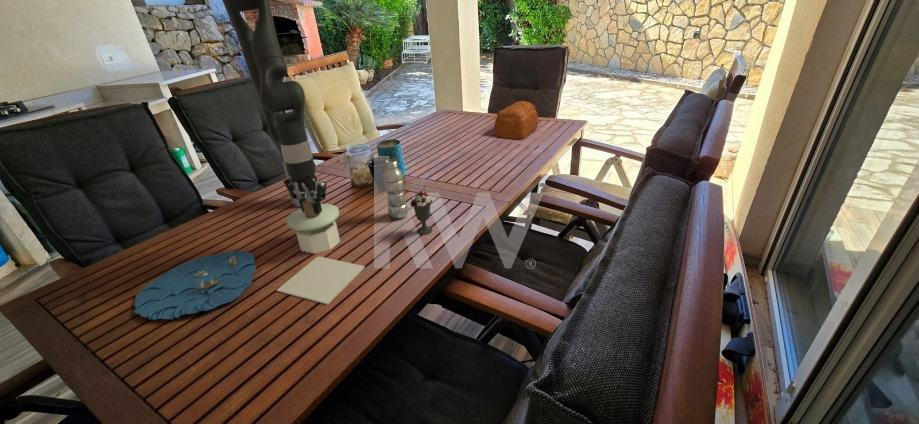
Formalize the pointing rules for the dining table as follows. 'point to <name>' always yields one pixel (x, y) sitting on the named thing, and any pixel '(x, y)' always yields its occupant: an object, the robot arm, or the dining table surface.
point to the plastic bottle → (394, 190)
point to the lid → (312, 217)
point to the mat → (321, 280)
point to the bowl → (318, 238)
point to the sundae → (422, 211)
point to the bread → (516, 120)
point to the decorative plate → (197, 286)
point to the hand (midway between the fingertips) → (312, 212)
